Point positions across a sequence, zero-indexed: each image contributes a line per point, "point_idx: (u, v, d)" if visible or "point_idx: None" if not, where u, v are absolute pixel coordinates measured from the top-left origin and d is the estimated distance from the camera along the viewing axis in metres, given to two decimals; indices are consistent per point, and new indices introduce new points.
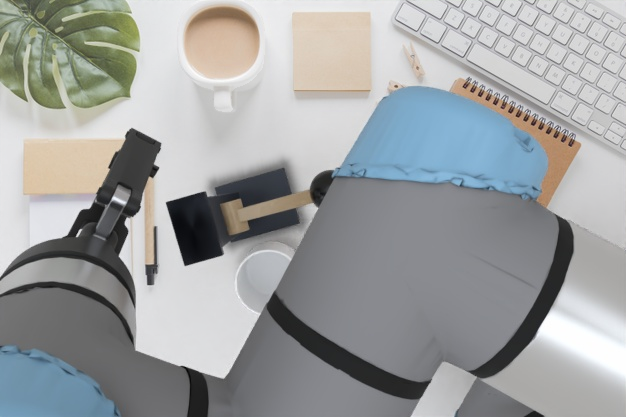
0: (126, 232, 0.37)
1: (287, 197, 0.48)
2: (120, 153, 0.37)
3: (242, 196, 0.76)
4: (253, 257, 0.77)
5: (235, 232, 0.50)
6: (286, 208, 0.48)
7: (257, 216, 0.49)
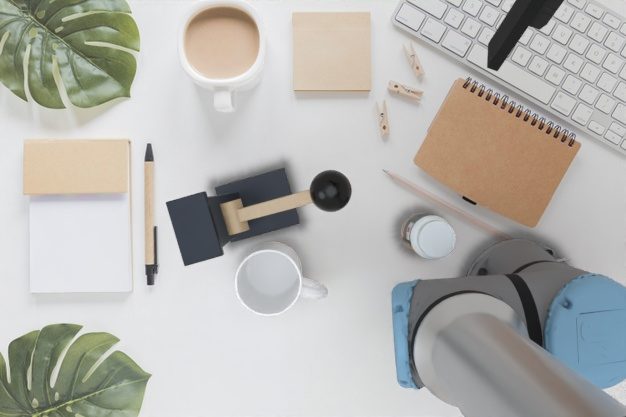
0: None
1: (287, 197, 0.48)
2: None
3: (242, 196, 0.76)
4: (253, 257, 0.77)
5: (235, 232, 0.50)
6: (286, 208, 0.48)
7: (257, 216, 0.49)
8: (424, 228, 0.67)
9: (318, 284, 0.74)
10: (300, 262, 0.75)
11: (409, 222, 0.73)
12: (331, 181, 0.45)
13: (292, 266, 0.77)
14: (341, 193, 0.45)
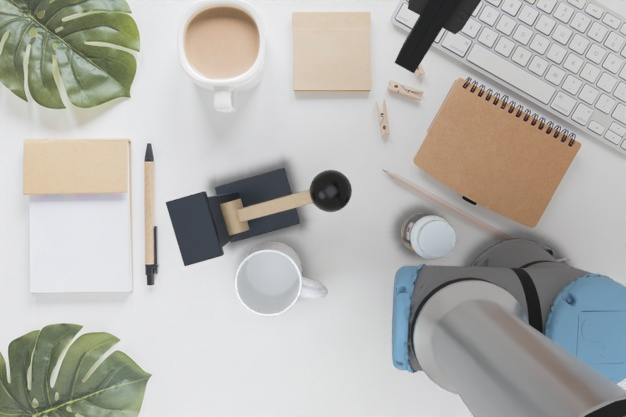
0: None
1: (287, 197, 0.48)
2: None
3: (242, 196, 0.76)
4: (253, 257, 0.77)
5: (235, 232, 0.50)
6: (286, 208, 0.48)
7: (257, 216, 0.49)
8: (424, 228, 0.67)
9: (318, 284, 0.74)
10: (300, 262, 0.75)
11: (409, 222, 0.73)
12: (331, 181, 0.45)
13: (292, 266, 0.77)
14: (341, 193, 0.45)
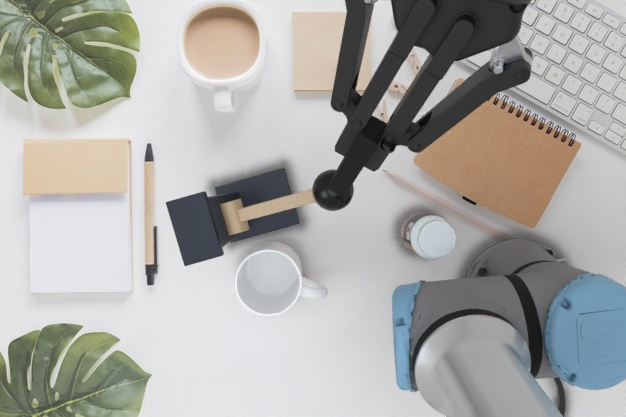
0: (444, 75, 0.34)
1: (289, 196, 0.48)
2: None
3: (242, 196, 0.76)
4: (253, 257, 0.77)
5: (236, 232, 0.50)
6: (288, 207, 0.48)
7: (258, 216, 0.49)
8: (424, 228, 0.67)
9: (318, 284, 0.74)
10: (300, 262, 0.75)
11: (409, 222, 0.73)
12: None
13: (292, 266, 0.77)
14: None
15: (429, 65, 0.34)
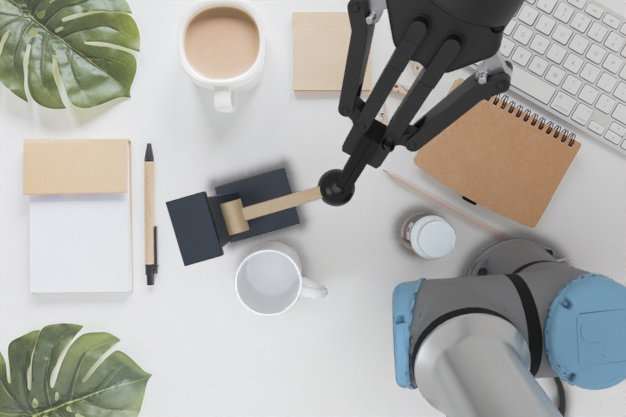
0: (435, 85, 0.39)
1: (297, 193, 0.51)
2: None
3: (242, 196, 0.76)
4: (253, 257, 0.77)
5: (241, 230, 0.50)
6: (296, 204, 0.51)
7: (264, 213, 0.51)
8: (424, 228, 0.67)
9: (318, 284, 0.74)
10: (300, 262, 0.75)
11: (409, 222, 0.73)
12: None
13: (292, 266, 0.77)
14: (353, 187, 0.51)
15: (423, 77, 0.39)
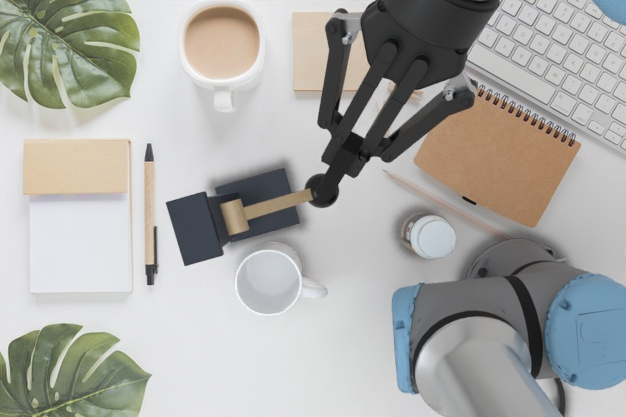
0: (406, 101, 0.42)
1: (291, 195, 0.53)
2: None
3: (242, 196, 0.76)
4: (253, 257, 0.77)
5: (245, 229, 0.50)
6: (291, 204, 0.53)
7: (264, 213, 0.52)
8: (424, 228, 0.67)
9: (318, 284, 0.74)
10: (300, 262, 0.75)
11: (409, 222, 0.73)
12: None
13: (292, 266, 0.77)
14: None
15: (394, 93, 0.42)
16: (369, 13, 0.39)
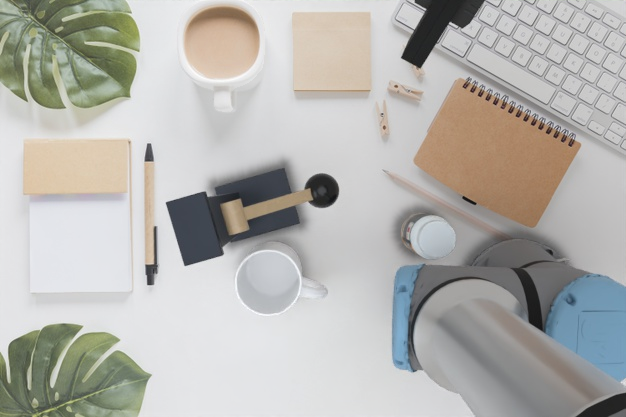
0: None
1: (291, 195, 0.53)
2: None
3: (242, 196, 0.76)
4: (253, 257, 0.77)
5: (245, 229, 0.50)
6: (291, 204, 0.53)
7: (264, 213, 0.52)
8: (424, 228, 0.67)
9: (318, 284, 0.74)
10: (300, 262, 0.75)
11: (409, 222, 0.73)
12: (333, 179, 0.55)
13: (292, 266, 0.77)
14: None
15: None
16: None
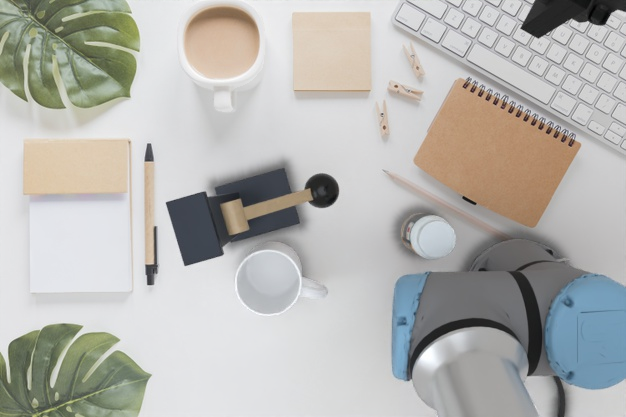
0: None
1: (291, 195, 0.53)
2: None
3: (242, 196, 0.76)
4: (253, 257, 0.77)
5: (245, 229, 0.50)
6: (291, 204, 0.53)
7: (264, 213, 0.52)
8: (424, 228, 0.67)
9: (318, 284, 0.74)
10: (300, 262, 0.75)
11: (409, 222, 0.73)
12: (333, 179, 0.55)
13: (292, 266, 0.77)
14: None
15: None
16: None
